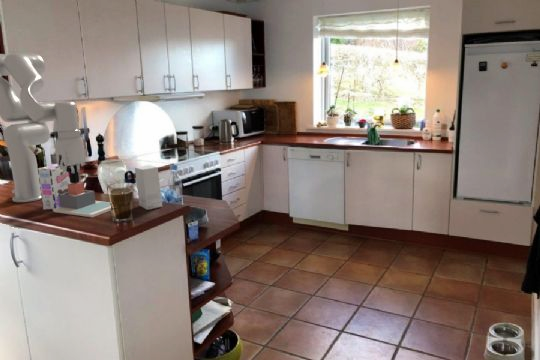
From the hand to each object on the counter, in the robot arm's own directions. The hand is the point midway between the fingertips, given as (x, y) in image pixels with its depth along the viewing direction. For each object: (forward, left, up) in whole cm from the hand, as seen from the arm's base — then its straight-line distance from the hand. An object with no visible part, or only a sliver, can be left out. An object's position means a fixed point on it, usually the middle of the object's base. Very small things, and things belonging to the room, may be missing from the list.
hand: (74, 182), depth 176 cm
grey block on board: (+5, 0, -10) cm, 11 cm away
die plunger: (0, 0, -8) cm, 8 cm away
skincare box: (+26, +11, -10) cm, 30 cm away
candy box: (-9, 0, -10) cm, 14 cm away
